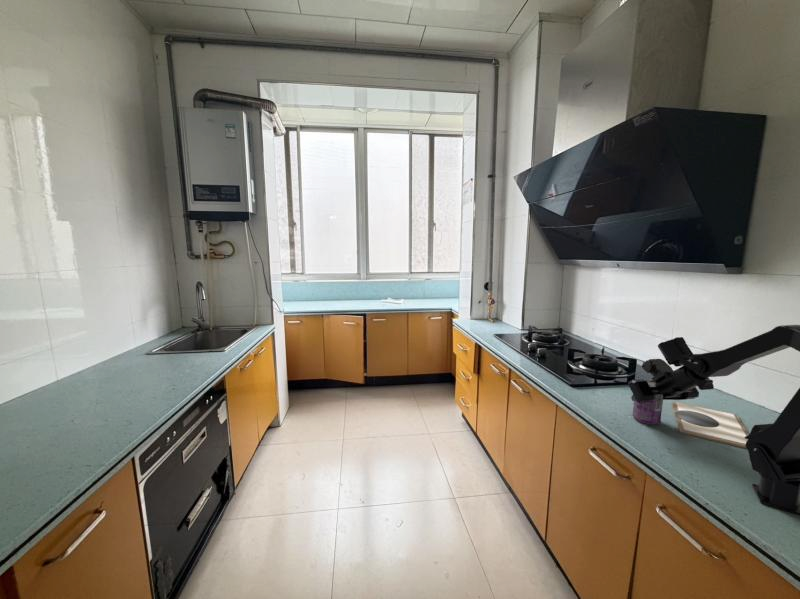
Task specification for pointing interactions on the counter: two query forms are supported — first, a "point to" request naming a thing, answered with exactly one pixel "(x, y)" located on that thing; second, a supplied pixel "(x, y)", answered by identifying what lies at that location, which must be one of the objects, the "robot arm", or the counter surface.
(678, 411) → the wooden tray
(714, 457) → the counter surface
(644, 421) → the beverage can
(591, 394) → the counter surface
